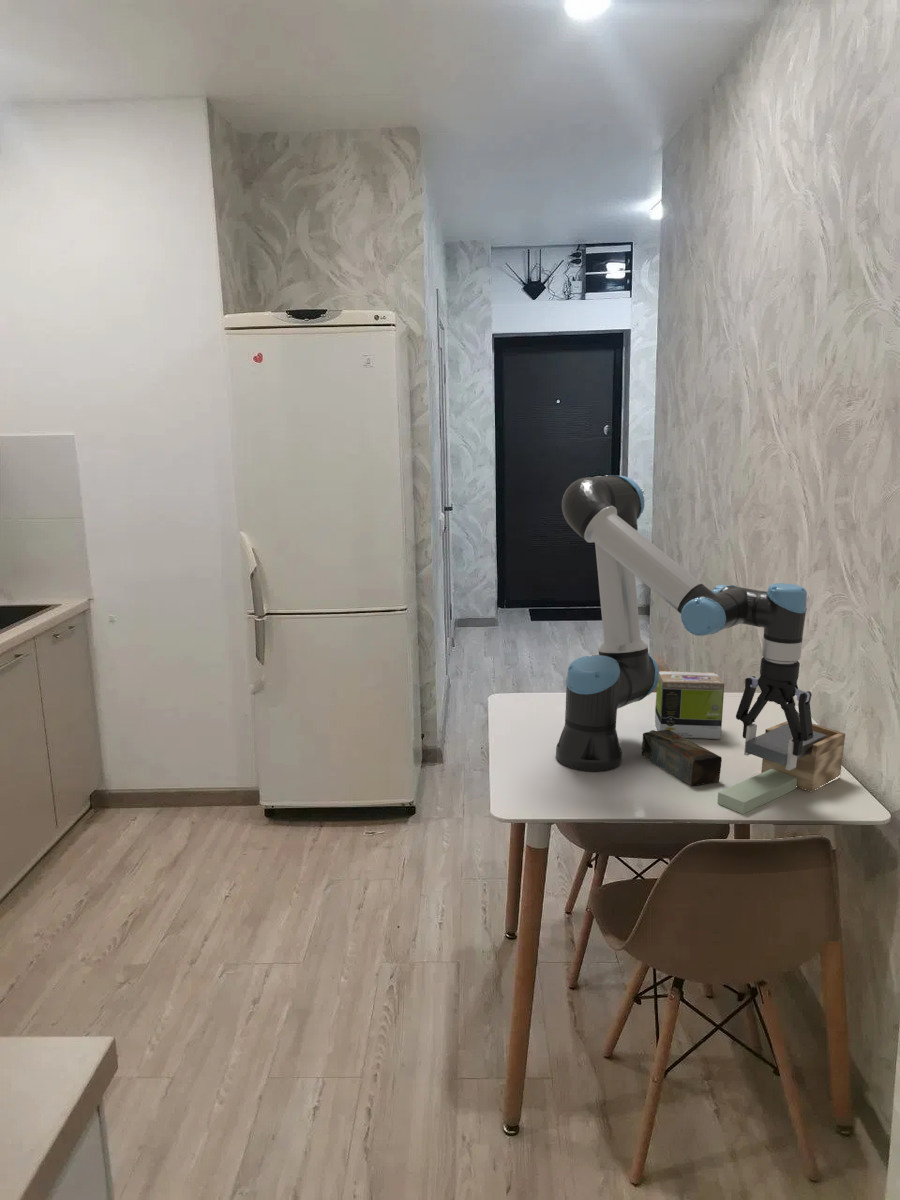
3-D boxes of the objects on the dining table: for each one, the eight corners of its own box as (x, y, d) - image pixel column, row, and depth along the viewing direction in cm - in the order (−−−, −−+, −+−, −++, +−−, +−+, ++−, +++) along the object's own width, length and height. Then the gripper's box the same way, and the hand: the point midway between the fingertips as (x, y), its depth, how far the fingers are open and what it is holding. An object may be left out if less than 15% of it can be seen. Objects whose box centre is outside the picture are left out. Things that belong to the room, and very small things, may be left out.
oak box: (811, 792, 183) (816, 746, 181) (761, 773, 193) (765, 729, 190) (839, 778, 191) (845, 733, 189) (789, 760, 200) (794, 718, 198)
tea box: (712, 726, 221) (717, 671, 218) (720, 740, 212) (726, 683, 208) (653, 723, 223) (657, 668, 220) (658, 737, 213) (662, 680, 210)
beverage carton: (667, 751, 205) (669, 725, 204) (721, 783, 188) (724, 755, 186) (639, 756, 202) (641, 729, 201) (692, 789, 185) (694, 760, 183)
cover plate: (784, 765, 177) (785, 754, 177) (745, 752, 184) (746, 741, 183) (825, 745, 188) (826, 735, 187) (787, 733, 195) (788, 723, 194)
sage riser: (742, 814, 173) (744, 802, 172) (717, 803, 177) (718, 792, 177) (796, 788, 185) (797, 777, 185) (770, 779, 190) (771, 768, 189)
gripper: (840, 668, 171) (827, 773, 176) (743, 644, 188) (734, 741, 193) (821, 675, 167) (809, 782, 172) (724, 650, 183) (715, 749, 188)
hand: (769, 760), depth 182 cm, fingers closed on cover plate, 9 cm apart
